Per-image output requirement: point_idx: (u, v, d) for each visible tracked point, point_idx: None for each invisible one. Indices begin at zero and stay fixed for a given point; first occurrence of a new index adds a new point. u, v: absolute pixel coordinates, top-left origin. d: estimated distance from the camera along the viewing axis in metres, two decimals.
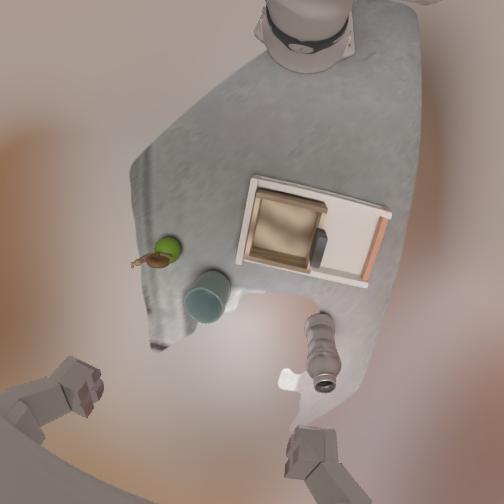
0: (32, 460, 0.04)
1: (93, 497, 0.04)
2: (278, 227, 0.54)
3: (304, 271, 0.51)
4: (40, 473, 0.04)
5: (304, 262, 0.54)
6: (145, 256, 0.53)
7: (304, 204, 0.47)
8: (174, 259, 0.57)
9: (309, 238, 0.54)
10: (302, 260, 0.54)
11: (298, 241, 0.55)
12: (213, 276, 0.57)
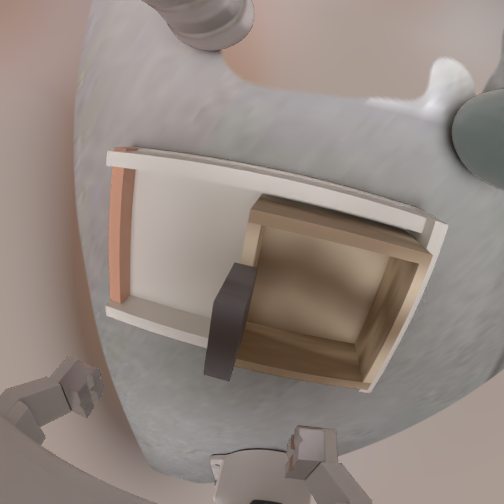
0: (32, 460, 0.04)
1: (93, 497, 0.04)
2: (333, 281, 0.23)
3: (267, 217, 0.17)
4: (40, 473, 0.04)
5: None
6: None
7: (272, 373, 0.21)
8: None
9: (262, 256, 0.23)
10: None
11: (287, 249, 0.23)
12: (494, 185, 0.16)
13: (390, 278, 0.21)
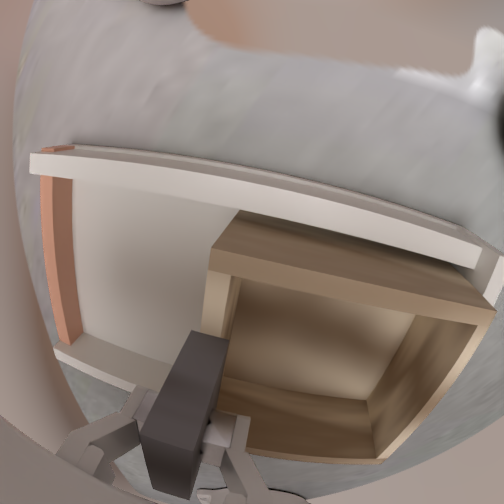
0: (32, 460, 0.04)
1: (93, 497, 0.04)
2: (344, 331, 0.16)
3: (241, 262, 0.09)
4: (40, 473, 0.04)
5: None
6: None
7: (258, 453, 0.14)
8: None
9: (243, 298, 0.16)
10: None
11: (279, 290, 0.15)
12: None
13: (425, 330, 0.13)
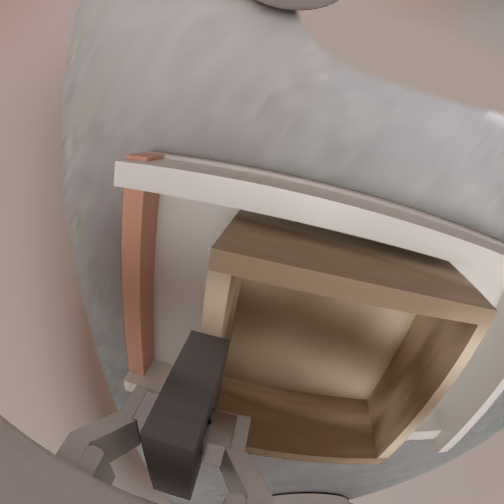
0: (32, 460, 0.04)
1: (93, 497, 0.04)
2: (345, 330, 0.16)
3: (241, 262, 0.09)
4: (40, 473, 0.04)
5: None
6: None
7: (258, 453, 0.14)
8: None
9: (243, 298, 0.16)
10: None
11: (280, 289, 0.15)
12: None
13: (425, 329, 0.13)
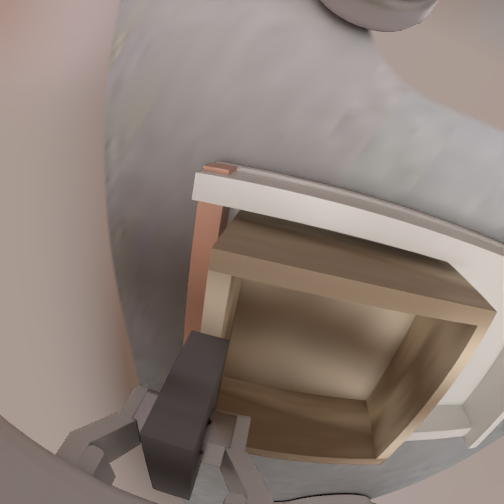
0: (32, 460, 0.04)
1: (93, 497, 0.04)
2: (344, 331, 0.16)
3: (241, 262, 0.09)
4: (40, 473, 0.04)
5: None
6: None
7: (258, 453, 0.14)
8: None
9: (243, 298, 0.16)
10: None
11: (279, 290, 0.15)
12: None
13: (425, 330, 0.13)
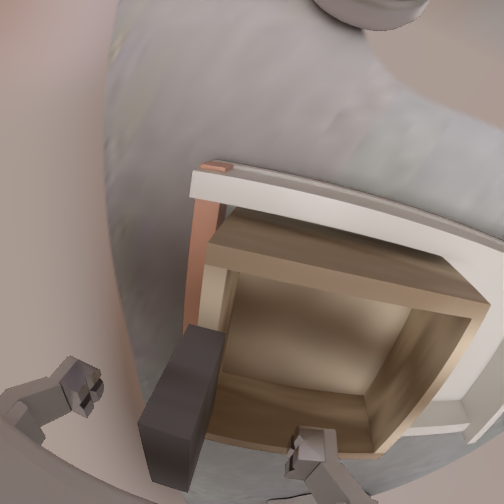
0: (32, 460, 0.04)
1: (93, 497, 0.04)
2: (341, 326, 0.16)
3: (236, 256, 0.10)
4: (40, 473, 0.04)
5: None
6: None
7: (256, 448, 0.14)
8: None
9: (240, 294, 0.16)
10: None
11: (276, 285, 0.16)
12: None
13: (420, 324, 0.14)
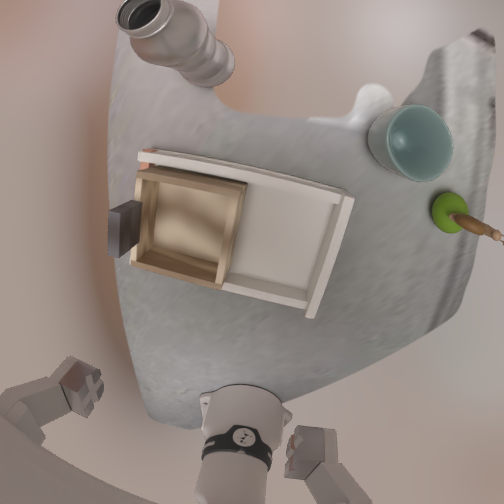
0: (32, 460, 0.04)
1: (93, 497, 0.04)
2: (201, 217, 0.37)
3: (144, 174, 0.30)
4: (40, 473, 0.04)
5: None
6: None
7: (158, 272, 0.35)
8: (445, 203, 0.30)
9: (158, 202, 0.37)
10: None
11: (172, 197, 0.36)
12: None
13: None
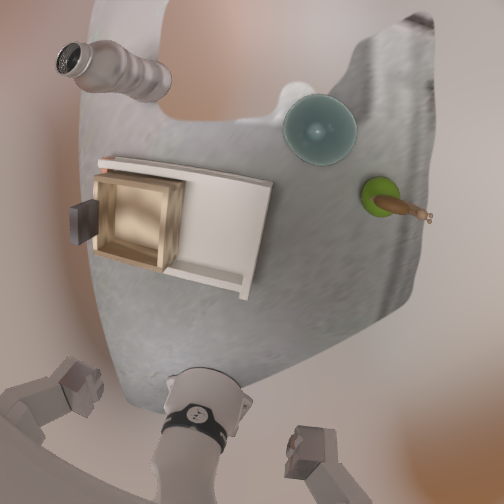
0: (32, 460, 0.04)
1: (93, 497, 0.04)
2: (150, 212, 0.42)
3: (99, 178, 0.35)
4: (40, 473, 0.04)
5: None
6: (410, 213, 0.31)
7: (114, 258, 0.40)
8: (370, 187, 0.34)
9: (117, 201, 0.42)
10: None
11: (127, 196, 0.41)
12: None
13: None
